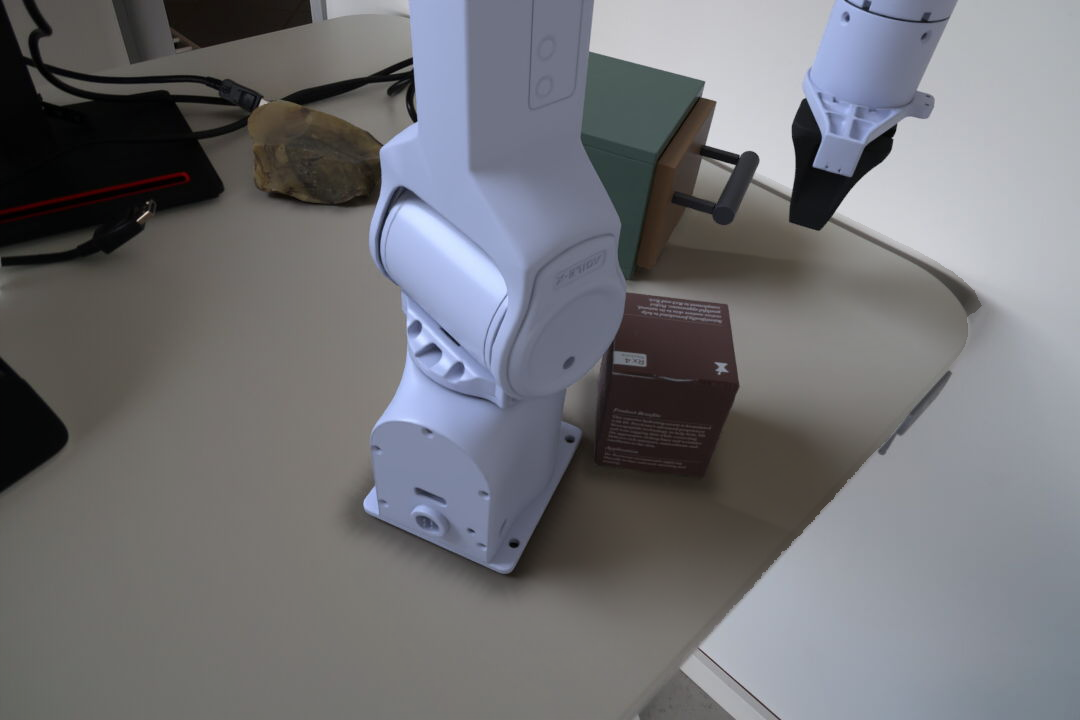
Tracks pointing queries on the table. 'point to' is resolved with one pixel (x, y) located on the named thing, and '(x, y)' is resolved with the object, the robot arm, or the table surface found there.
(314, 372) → the table surface
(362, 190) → the decorative stone
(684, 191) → the drawer
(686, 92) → the cabinet
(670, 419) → the box
